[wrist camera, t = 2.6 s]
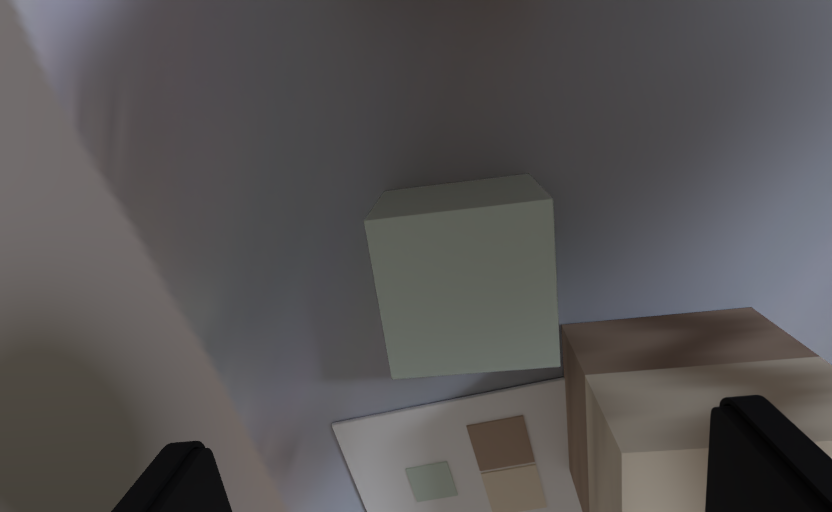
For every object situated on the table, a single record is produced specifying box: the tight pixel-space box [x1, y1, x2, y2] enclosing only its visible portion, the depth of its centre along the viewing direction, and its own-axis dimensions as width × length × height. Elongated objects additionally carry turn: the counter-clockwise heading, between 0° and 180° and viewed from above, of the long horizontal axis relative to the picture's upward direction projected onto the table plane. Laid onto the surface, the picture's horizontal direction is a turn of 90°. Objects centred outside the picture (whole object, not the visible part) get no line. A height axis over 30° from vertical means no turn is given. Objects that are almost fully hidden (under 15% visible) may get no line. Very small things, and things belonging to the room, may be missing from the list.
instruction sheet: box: [332, 377, 582, 512], centre depth 24 cm, size 12×9×1 cm
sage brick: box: [364, 173, 560, 380], centre depth 18 cm, size 6×6×5 cm
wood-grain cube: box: [561, 307, 832, 512], centre depth 18 cm, size 8×8×8 cm
